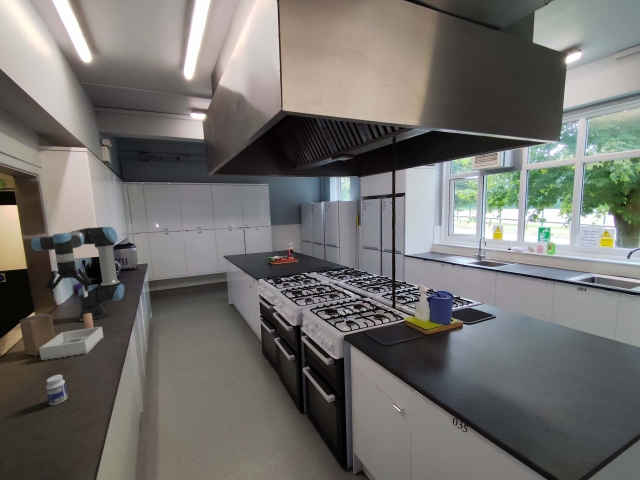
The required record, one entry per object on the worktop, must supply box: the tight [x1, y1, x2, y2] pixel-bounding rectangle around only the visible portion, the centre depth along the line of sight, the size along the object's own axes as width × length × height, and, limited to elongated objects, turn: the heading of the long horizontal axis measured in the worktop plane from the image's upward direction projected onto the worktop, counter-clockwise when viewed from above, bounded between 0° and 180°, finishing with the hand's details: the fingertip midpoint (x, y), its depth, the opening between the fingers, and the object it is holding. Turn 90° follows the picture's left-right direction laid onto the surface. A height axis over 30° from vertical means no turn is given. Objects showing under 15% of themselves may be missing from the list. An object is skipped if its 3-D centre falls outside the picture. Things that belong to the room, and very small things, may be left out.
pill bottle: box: [45, 374, 68, 406], centre depth 116 cm, size 6×6×10 cm
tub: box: [39, 326, 104, 361], centre depth 161 cm, size 20×20×7 cm
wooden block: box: [19, 313, 56, 357], centre depth 158 cm, size 10×10×20 cm
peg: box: [83, 313, 95, 329], centre depth 176 cm, size 4×4×14 cm
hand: (71, 298), depth 161 cm, fingers open, 13 cm apart
